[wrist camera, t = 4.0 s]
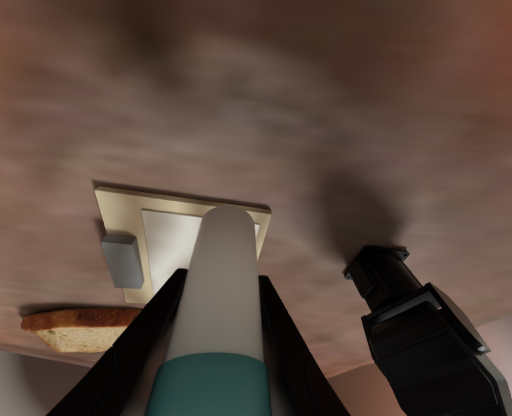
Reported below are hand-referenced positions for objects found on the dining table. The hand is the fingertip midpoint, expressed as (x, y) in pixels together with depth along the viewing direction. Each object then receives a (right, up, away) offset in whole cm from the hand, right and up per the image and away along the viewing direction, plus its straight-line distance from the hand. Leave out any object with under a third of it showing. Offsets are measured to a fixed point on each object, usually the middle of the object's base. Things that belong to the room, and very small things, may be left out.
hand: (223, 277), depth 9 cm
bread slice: (-24, -15, +25) cm, 38 cm away
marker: (0, +2, +3) cm, 3 cm away
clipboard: (-7, -4, +17) cm, 19 cm away
